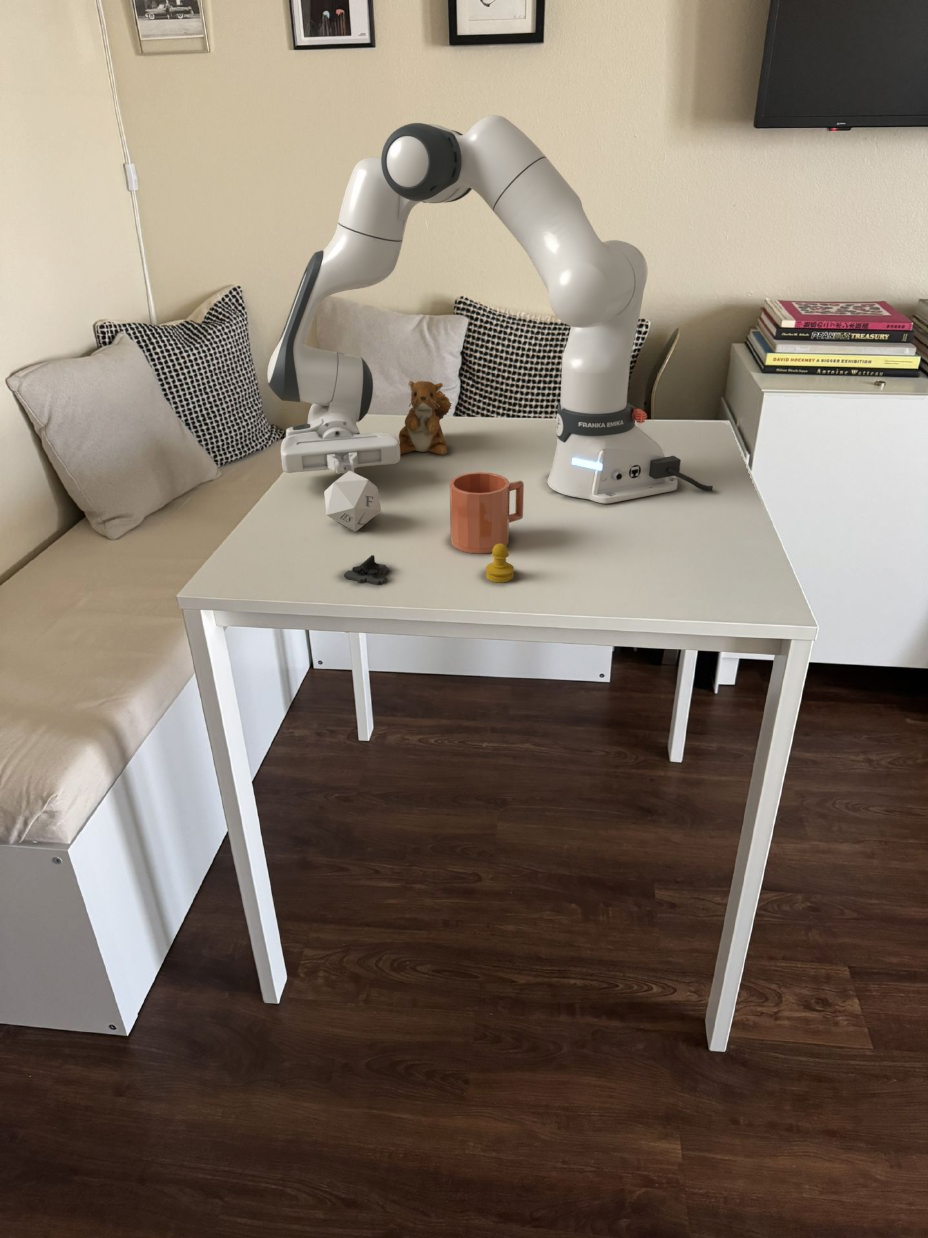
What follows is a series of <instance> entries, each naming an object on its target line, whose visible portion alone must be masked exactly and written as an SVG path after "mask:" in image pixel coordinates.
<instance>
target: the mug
mask: <svg viewBox="0 0 928 1238" xmlns="http://www.w3.org/2000/svg"><path fill="white" fill-rule="evenodd" d="M524 483H525V482H524V481H522V480H515V481H512V482H510V481H509V479H508V478H507V477H505V476H503V475H501V474H498V473H492V472H486V471H485V472H483V471H477V472H467V473H464V474H463V473H462V474H459V475H457V476H455V477H453V478H451V480H450V482H449V527H450V529H449V531H450V542H451V545H452V546H453V548H455V549H456V550H458V551H461V552H463V553H464V552H465V553H469V554H479V555H480V554H490V553H491V554H492V550H493V547H494V546H495V545H496V544H504V545H505V546H506V547H507V546H508V544H509V538H510V523H514V522H518V521H520V520H522V519H523V517H524V491H525V490H524V489H525V488H524V487H525V484H524ZM512 491H515V504H514V505H515V506H514V507H515V509H514V511H515V512H513V513H510V501H511V500H510V498H511V497H510V496H511V494H510V493H511V492H512Z"/></svg>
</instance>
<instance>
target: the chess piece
mask: <svg viewBox="0 0 928 1238" xmlns="http://www.w3.org/2000/svg"><path fill="white" fill-rule="evenodd" d="M508 552H509V551H508V547H507V545H506V546H505V545H504V544H496V545H495V546H494V547H493V550H492V552H491V557H492V558H493V561H492V562H490V563H488V564H487V565H486V567H485V578H486V579H487V580H488V581H490V582H493V583H507V582H511V581H512V580H513V579H514V569H515V568H514V565H513V564H511V563H509V562H508V561H507V558H508V557H509V556H510V555H509V553H508Z"/></svg>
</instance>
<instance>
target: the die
mask: <svg viewBox="0 0 928 1238" xmlns="http://www.w3.org/2000/svg"><path fill="white" fill-rule="evenodd" d="M323 496H324V504H325V505H324V506H325V514H326V516H327V517H329V518H330V519H332V520H334V521H335V522H337V523H339V524H340V525H342V526H344V527H346V528H347V529H349V530H351V531H353V532H355V533H356V532H358V531H359V530H360V529H362V528H363V526H365V525H366V524H367V523H368V522H369V521H371V520H372V519H373V518H374V517H376V516H377V515H378V514H379V513H380V512H382V508H381V502H380V500H381V499H380V494H379V489H378V486H377V485H375V483H373V482H371V480H369V479H368V478H366V477H364V476H362V475H359V474H357V473H356V472H351V471H348V472H347V473H343V475H341V476H340V477H339V478H337V479H335V481H334V482H333V483H332V484H330V485H329V486H328V487H327V489H325V490H324V491H323Z"/></svg>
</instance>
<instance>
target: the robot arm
mask: <svg viewBox="0 0 928 1238" xmlns="http://www.w3.org/2000/svg"><path fill="white" fill-rule="evenodd" d="M547 157H548V156H546V154H544V152H543V151H542V150H541V149H540V148H539V147H538V146H537V145H536V144H535V142H533V141H532V139H530V137H528V136H527V135H526V134H525V133H524V132H523V131H522V130H521V129H520V128H519V127H517V126H516V125H515V124H514V123H513V122H511V121H510V120H509V119H507V118H506V117H505V116H503V115H498V114H493V115H492V114H491V115H488V116H486V117H482V118H481V119H480V120H478V121H477V122H475V123H474V124H473V125H472V126H471V127H470V128H469V130H467V131H466V132H465V133H464V134H463V133H461V132H460V131H457V130H453V129H450V128H448V127H445V126H442V125H440V124H432V123H422V122H412V123H407V124H405V125H402V126H399V128H397V129H396V130H393V132H392V133H390V135H389V136H388V138H387V139H386V141H385V143H384V145H383V147H382V151H381V156H371V157H366V158H363V159H361V160H359V161H357V163H356V164H355V166H354V168H353V169H352V172H351V175H350V177H349V179H348V183H347V185H346V188H345V192H344V195H343V198H342V202H341V206H340V210H339V214H338V215H339V216H338V219H337V225H336V229H335V232H334V234H333V236H332V238H331V240H330V241H329V243H328V244H327V245H326V246H325V248H324V249H322V250H319V251H315V252H313V255H312V256H311V257H310V258H309V261H308V263H307V265H306V267H305V270H304V272H303V273H302V274H303V275H302V277H301V279H300V282H299V284H298V287H297V290H296V293H295V296H294V298H293V302H292V305H291V308H290V309H289V313H288V316H287V318H286V322H285V324H284V326H283V329H282V332H281V335H280V338H279V340H278V342H277V345H276V347H275V349H274V351H273V353H272V354H271V357H270V359H269V362H268V366H267V372H266V373H267V375H266V376H267V385H268V387H269V388H270V389H271V391H272V392H273V394H275V395H276V396H277V397H278V398H279V399H280V400H281V401H283V402H294V403H306V404H307V403H308V404H311V406H310V408H309V411H308V415H307V423H304V424H300V425H295V426H291V427H288V428H286V429H285V437H284V438H283V440H282V441H281V445H280V459H281V468H282V472H283V473H287V474H293V473H295V474H296V473H305V472H315V471H327V470H328V471H329V470H331V471H334V472H336V474H337V475H338V474H345V473H347V472H348V471H351V472H353V473H355V469H357V468H361V467H371V466H372V467H374V466H384V465H395V464H397V463H399V462H400V461H401V455H400V445H399V444H400V441H398V439H397V438H396V437H395V436H394V435H393V434H391V433H389V432H384V431H383V432H381V431H380V432H370V433H369V432H368V433H360V430H359V427H358V425H357V423H359V422H360V421H362V420H363V419H364V418H365V416H367V414H368V413H369V410H370V407H371V403H372V399H373V393H374V379H373V374H372V371H371V369H370V367H369V364H368V363H367V361H365V359H364V358H363V357H362V356H358V355H357V356H356V355H352V354H348V353H343V352H338V351H336V352H335V351H331V350H326V349H320V348H316V347H312V346H308V345H307V344H306V341H307V339H308V335H309V333H310V330H311V328H312V325H313V321H314V319H315V317H316V314H317V311H318V309H319V306H320V305H321V303H322V302H323V301H324V300H325V299H326V298H328V297H330V296H332V295H336V294H338V293H341V292H345V291H346V292H347V291H353V290H359V289H360V290H361V289H366V288H369V287H372V286H376V285H377V284H379V283H381V282H383V281H385V280H386V279H387V278H388V277H390V275H391V274H392V273H393V272H394V270H395V268H396V266H397V264H398V261H399V257H400V254H401V250H402V245H403V241H404V236H405V231H406V226H407V222H408V218H409V216H410V213H411V212H412V210H413V209H414V207H415V206H417V205H418V204H420V203H422V204H423V203H424V204H426V203H428V204H442V203H444V204H445V203H446V204H447V203H453V202H456V201H459V200H461V199H462V198H464V197H465V196H467V195H469V193H470V192H471V191H472V190H473V191H474V192H476V193H477V194H478V196H480V198H482V200H483V201H484V202H485V203H486V204H487V205H488V207H489V209H490V210H491V211H492V212H493V213H494V214H495V216H497V217H498V219H499V220H500V221H501V223H502V224H503V225H504V227H506V229H507V230H508V231H509V232H510V234H511V235H512V237H514V238H515V240H516V241H517V242H518V243H519V245H520V246H521V247H522V249H523V250H524V252H525V253H526V254H527V256H528V257H529V259H530V260H531V263H532V265H533V267H534V268H535V270H536V272H537V274H538V276H539V278H540V279H541V281H542V283H543V285H544V287H545V289H546V291H547V292H548V299H549V304H550V307H551V309H552V311H553V313H554V315H555V316H556V317H557V318H558V320H559V321H561V322H562V323H564V324H565V325H567V326H569V327H570V328H569V329H570V330H569V334H568V338H567V341H566V345H565V348H564V350H563V354H562V357H561V358H562V359H561V377H560V398H559V399H560V401H558V403H557V411H556V415H555V416H556V417H555V433H556V437H557V438H556V439H557V440H556V445H555V450H554V451H555V452H554V456H553V461H552V466H551V469H550V472H549V476H548V478H547V481H546V483H547V485H548V486H549V488H550V489H552V490H553V491H554V492H556V493H558V494H561V495H564V496H568V497H573V498H579V499H584V500H590V501H592V502H596V503H599V504H602V505H603V504H604V505H605V504H607V505H608V504H613V503H617V502H618V503H619V502H622V501H628V500H634V499H639V498H643V497H649V496H654V495H659V494H663V493H668V492H674V491H676V490H677V489H678V482H679V481H678V478H679V479H681V480H683V481H685V482H687V483H689V484H691V485H692V486H693V487H695V488H697V489H699V490H702V491H706V492H713V489H714V486H713V485H706V484H703V483H700V482H699V481H698V480H696V479H694V478H693V477H690V476H688V475H686V474H684V473H682V472H680V471H681V470H680V469H681V462H682V459H680V458H679V457H677V456H675V455H669V456H665V452H664V450H663V449H662V447H661V446H660V445H659V443H658V442H657V441H655V440H654V439H653V438H652V437H651V436H649V435H648V434H647V433H646V432H645V431H643V430H642V429H641V428H640V427H638V426H637V425H636V423H638V424H644V423H645V421H647V418H648V414H647V413H646V412H645V411H643V410H642V409H641V408H636V407H635V406H634V405H632V404H630V403H629V402H628V393H629V380H630V369H631V359H632V354H633V349H634V343H635V339H636V336H637V335H636V334H637V330H638V325H639V320H640V319H639V318H640V314H641V309H642V303H643V297H644V293H645V292H644V291H645V287H646V284H647V280H648V274H649V270H648V268H649V267H648V262H647V259H646V257H645V256H644V254H643V252H642V251H641V250H640V249H639V248H638V247H636V246H635V245H634V244H631V243H629V242H626V241H623V240H618V239H611V240H605V241H602V240H601V238H599V236H598V234H597V233H596V231H595V229H594V227H593V226H592V223H591V222H590V220H589V218H588V216H587V215H586V212H585V210H584V208H583V203H582V200H581V199H580V196H579V195H578V194H577V193H576V191H575V190H574V189H573V188H572V187H571V185H570V184H569V183H568V182H567V180H566V179H565V178H564V176H563V175H562V174H561V173H560V172H559V170H558V169H557V168H556V167H555V166H554V164H553V163H552V162H551V161H550V160H549V159H548V158H547Z"/></svg>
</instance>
